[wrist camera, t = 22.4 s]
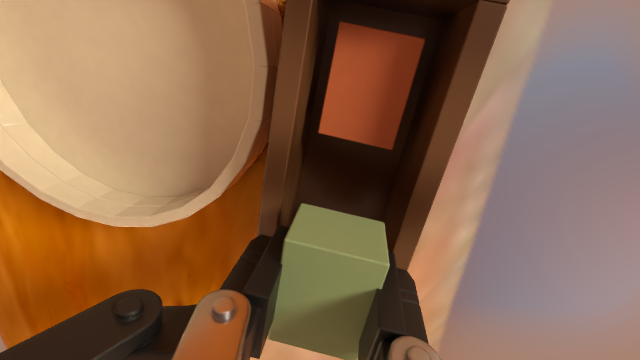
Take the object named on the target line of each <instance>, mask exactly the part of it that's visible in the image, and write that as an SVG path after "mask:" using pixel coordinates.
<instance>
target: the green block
mask: <svg viewBox="0 0 640 360" xmlns="http://www.w3.org/2000/svg"><path fill="white" fill-rule="evenodd" d="M280 263H281V264H282V265H283V266H282V272H281V278H280V284H279V290H278V295H277V301H276V307H275V313H274V319H273V322H272V325H271V328H270V330H269V333H268V339H270V340H273V341H277V342H281V343H285V344H288V345H292V346H296V347H300V348H303V349H307V350H311V351H314V352H318V353H322V354H326V355H329V356H333V357H337V358H341V359H344V360H357V359H358V350H359V340H360V337H361V334H362V331H363V328H364V325H365V322H366V319H367V316H368V313H369V311H370V308H371V305H372V302H373V299H374V296H375V293H376V290H377V288H378V289H382V287H383V284H384V281H385V278H386V275H387V272H388V269H389V266H390V264H389V256H388V248H387V240H386V232H385V224H384V222H380V221H376V220H372V219H367V218H363V217H359V216H355V215H351V214H346V213H342V212H338V211H334V210H329V209H325V208H321V207H317V206H312V205H308V204H304V203H301V204H300V207H299V209H298V211H297V213H296V215H295V217H294V220H293V222H292V224H291V226H290V228H289V230H288V232H287V235H286V237H285V239H284V243H283V249H282V255H281V261H280Z"/></svg>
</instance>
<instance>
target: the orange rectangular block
mask: <svg viewBox="0 0 640 360" xmlns="http://www.w3.org/2000/svg"><path fill="white" fill-rule="evenodd" d="M424 44H425V38H421V37H416V36H411V35H406V34H401V33H396V32H391V31H386V30H382V29H377V28H372V27H367V26H362V25H357V24H352V23H347V22H342V21H340V22H339V26H338V31H337V37H336V42H335V47H334V52H333V57H332V62H331V67H330V72H329V77H328V83H327V88H326V93H325V98H324V103H323V108H322V113H321V118H320V123H319V129H318V133H319V134H324V135H328V136H332V137H337V138H341V139H346V140H350V141H354V142H359V143H363V144H368V145H372V146H376V147H381V148H385V149H389V150H392V149H393V146H394V143H395V140H396V136H397V133H398V130H399V126H400V123H401V120H402V116H403V113H404V110H405V107H406V103H407V100H408V97H409V93H410V90H411V87H412V83H413V80H414V77H415V73H416V70H417V67H418V64H419V60H420V57H421V54H422V50H423V47H424Z"/></svg>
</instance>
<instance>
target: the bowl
mask: <svg viewBox="0 0 640 360" xmlns="http://www.w3.org/2000/svg"><path fill="white" fill-rule="evenodd" d="M282 32H283V27H282V21H281V15H280V12H279V8H278V5H277V1H276V0H0V170H1V171H3V173H5V174H6V175H7V176H9V177H10V178H11V179H13V180H14V181H16V182H17V183H18V184H20V185H21V186H22V187H24V188H25V189H27V190H28V191H29V192H31V193H32V194H33V195H35V196H36V197H38V198H40V199H41V200H43V201H45V202H47V203H49V204H51V205H53V206H55V207H58V208H60V209H62V210H64V211H66V212H68V213H70V214H72V215H74V216H77V217H79V218H83V219H87V220H91V221H95V222H99V223H103V224H107V225H111V226H116V227H155V226H159V225H162V224H166V223H170V222H173V221H177V220H180V219H184V218H187V217H190V216H191V215H193V214H194V213H196V212H197V211H199V210H200V209H202V208H203V207H205V206H207V205H208V204H210V203H211V202H213V201H214V200H216V199H217V198H219V197H220V196H221V195H222V194H223V193H224V192H225V191H227V190H228V189H229V188H230V187H231V186H232V185H233V184H234V183H236V182H237V181H238V180H239V179H240V178H241V177H242V176H243V174H244V173H245V172H246V171H247V169H248V168H249V167H250V166H251V165H252V164H253V163H254V162H255V161H256V159H257V158H258V156H259V155H260V154H261V152H262V151H263V149H264V148H265V146H266V144H267V142H268V140H269V135H270V128H271V120H272V112H273V104H274V96H275V88H276V80H277V72H278V64H279V56H280V48H281V40H282Z"/></svg>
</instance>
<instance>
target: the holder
mask: <svg viewBox="0 0 640 360" xmlns="http://www.w3.org/2000/svg"><path fill="white" fill-rule="evenodd" d="M509 1H510V0H286V8H285V16H284V24H283V32H282V40H281V48H280V56H279V64H278V72H277V80H276V88H275V96H274V104H273V112H272V120H271V128H270V135H269V143H268V151H267V159H266V167H265V175H264V183H263V191H262V199H261V207H260V215H259V223H258V231H257V237H258V236H260V235H261V234H263V235H267V236H271V237H272V236H273V234H274V232H275V230H276V229H277V227H278V225H283V226H287V227H290V226H291V224H292V222H293V220H294V217H295V215H296V213H297V211H298V209H299V207H300V204H301V203H304V204H308V205H312V206H317V207H321V208H325V209H329V210H334V211H338V212H342V213H346V214H351V215H355V216H359V217H363V218H367V219H372V220H376V221H380V222H384V224H385V232H386V240H387V248H388V251H390V252H394V254H395V260H396V266H397V268H400V269H404V270H408V267H409V264H410V262H411V259H412V256H413V254H414V251H415V248H416V246H417V243H418V241H419V238H420V235H421V233H422V230H423V227H424V225H425V222H426V219H427V217H428V214H429V212H430V209H431V206H432V204H433V201H434V198H435V196H436V193H437V191H438V188H439V185H440V183H441V180H442V177H443V175H444V172H445V169H446V167H447V164H448V162H449V159H450V156H451V154H452V151H453V148H454V146H455V143H456V140H457V138H458V135H459V133H460V130H461V127H462V125H463V122H464V119H465V117H466V114H467V111H468V109H469V106H470V104H471V101H472V98H473V96H474V93H475V90H476V88H477V85H478V82H479V80H480V77H481V75H482V72H483V69H484V67H485V64H486V61H487V59H488V56H489V54H490V51H491V48H492V46H493V43H494V40H495V38H496V35H497V32H498V30H499V27H500V25H501V22H502V19H503V17H504V14H505V11H506V9H507V4H508V3H509ZM340 21H342V22H347V23H352V24H357V25H362V26H367V27H372V28H377V29H382V30H386V31H391V32H396V33H401V34H406V35H411V36H416V37H421V38H425V44H424V47H423V50H422V54H421V57H420V60H419V64H418V67H417V70H416V73H415V77H414V80H413V83H412V87H411V90H410V93H409V97H408V100H407V103H406V107H405V110H404V113H403V116H402V120H401V123H400V126H399V130H398V133H397V136H396V140H395V143H394V146H393V149H392V150H389V149H385V148H381V147H376V146H372V145H368V144H363V143H359V142H354V141H350V140H346V139H341V138H337V137H332V136H328V135H324V134H319V133H318V129H319V123H320V118H321V113H322V108H323V103H324V98H325V93H326V88H327V83H328V77H329V72H330V67H331V62H332V57H333V52H334V47H335V42H336V37H337V31H338V26H339V22H340Z"/></svg>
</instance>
